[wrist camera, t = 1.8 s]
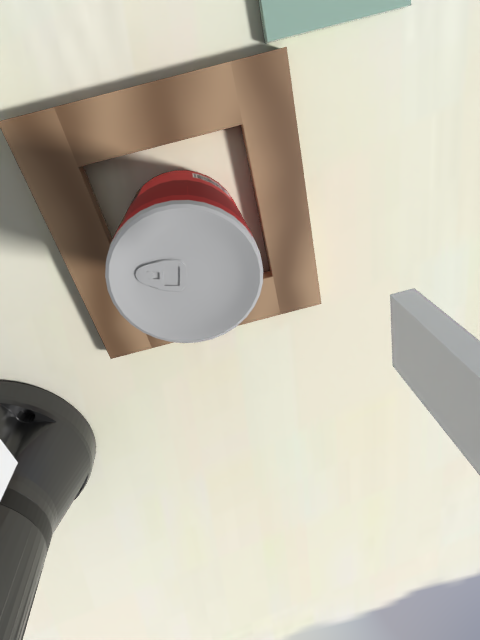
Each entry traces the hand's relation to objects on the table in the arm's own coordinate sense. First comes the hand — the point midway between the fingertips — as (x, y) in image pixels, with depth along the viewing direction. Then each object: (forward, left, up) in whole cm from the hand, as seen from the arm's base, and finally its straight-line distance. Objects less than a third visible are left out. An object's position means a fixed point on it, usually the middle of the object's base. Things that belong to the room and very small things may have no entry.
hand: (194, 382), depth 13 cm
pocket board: (0, 0, -19) cm, 19 cm away
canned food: (0, 0, -20) cm, 20 cm away
